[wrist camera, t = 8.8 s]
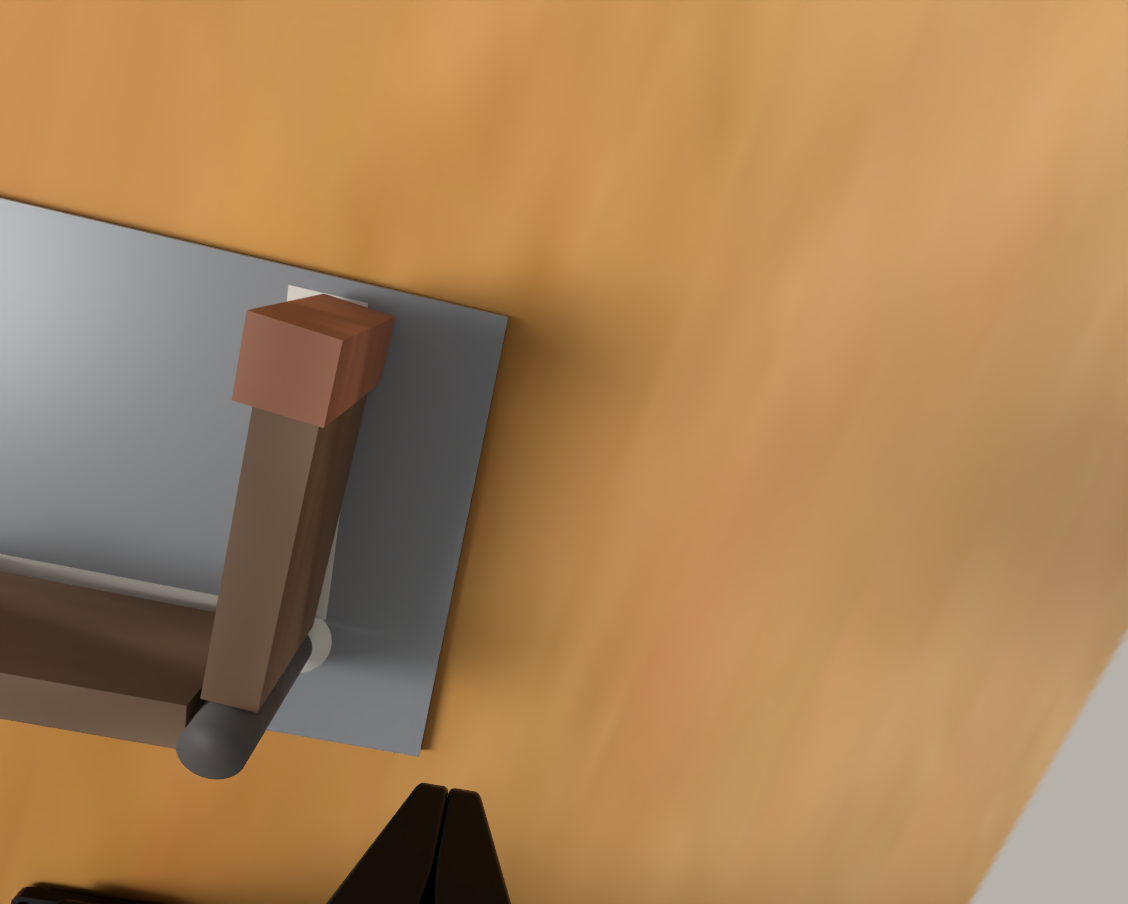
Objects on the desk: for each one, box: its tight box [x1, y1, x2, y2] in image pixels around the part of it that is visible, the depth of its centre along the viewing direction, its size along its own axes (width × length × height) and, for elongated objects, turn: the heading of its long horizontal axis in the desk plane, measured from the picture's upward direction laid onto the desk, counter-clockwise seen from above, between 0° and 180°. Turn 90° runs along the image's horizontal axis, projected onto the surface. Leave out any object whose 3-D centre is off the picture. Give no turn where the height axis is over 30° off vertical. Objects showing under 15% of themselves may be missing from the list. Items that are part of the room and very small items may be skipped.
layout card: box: [0, 197, 508, 757], centre depth 20 cm, size 16×15×1 cm
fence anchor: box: [0, 571, 312, 779], centre depth 18 cm, size 2×12×5 cm, turn 77°
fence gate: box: [200, 294, 395, 713], centre depth 17 cm, size 2×10×4 cm, turn 162°
